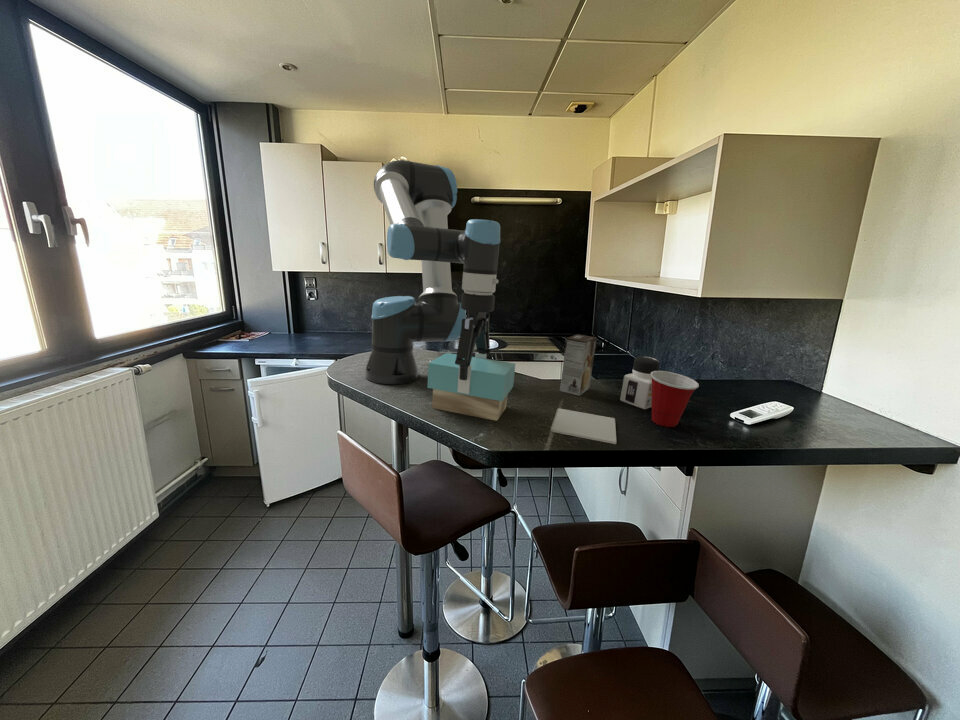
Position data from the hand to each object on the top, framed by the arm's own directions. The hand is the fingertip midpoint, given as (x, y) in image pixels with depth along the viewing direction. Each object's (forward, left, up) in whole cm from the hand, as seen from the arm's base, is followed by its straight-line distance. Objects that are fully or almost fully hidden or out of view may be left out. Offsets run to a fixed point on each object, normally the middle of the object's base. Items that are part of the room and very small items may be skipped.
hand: (471, 385), depth 94 cm
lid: (0, 0, -1) cm, 1 cm away
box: (0, 0, -7) cm, 7 cm away
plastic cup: (-15, +46, -7) cm, 49 cm away
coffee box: (-30, +23, -7) cm, 38 cm away
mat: (-4, +23, -7) cm, 24 cm away
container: (-28, +41, -7) cm, 50 cm away
